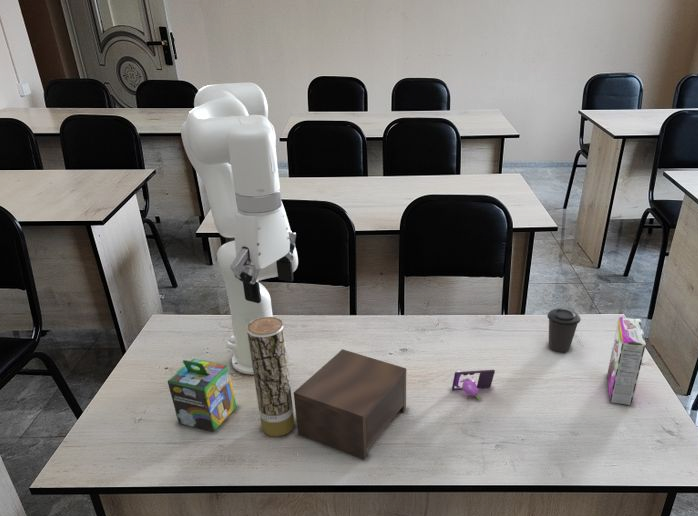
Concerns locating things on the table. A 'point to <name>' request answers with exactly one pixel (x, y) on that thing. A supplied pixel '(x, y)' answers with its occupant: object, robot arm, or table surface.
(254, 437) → the table surface
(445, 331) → the table surface
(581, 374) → the table surface
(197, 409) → the chalk box
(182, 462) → the table surface
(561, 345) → the coffee cup
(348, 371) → the walnut storage box
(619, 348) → the candy bar box
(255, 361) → the paper tube
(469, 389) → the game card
